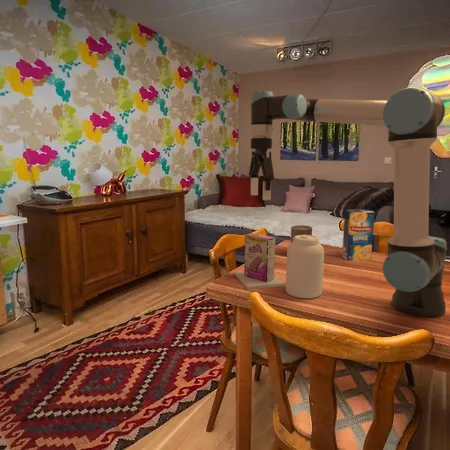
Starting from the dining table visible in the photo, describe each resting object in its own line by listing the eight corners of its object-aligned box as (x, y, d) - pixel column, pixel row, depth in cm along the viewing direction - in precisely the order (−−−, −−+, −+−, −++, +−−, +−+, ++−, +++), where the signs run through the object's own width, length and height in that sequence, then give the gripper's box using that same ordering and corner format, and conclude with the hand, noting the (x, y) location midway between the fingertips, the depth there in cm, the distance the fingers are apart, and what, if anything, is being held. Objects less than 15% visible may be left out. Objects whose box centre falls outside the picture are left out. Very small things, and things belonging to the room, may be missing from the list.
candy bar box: (243, 276, 143) (243, 234, 140) (251, 272, 146) (252, 232, 143) (266, 283, 135) (268, 239, 132) (274, 279, 139) (276, 237, 136)
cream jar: (283, 285, 136) (285, 232, 132) (317, 286, 135) (320, 232, 131) (287, 299, 123) (290, 241, 119) (325, 299, 123) (329, 241, 119)
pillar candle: (314, 254, 175) (315, 223, 172) (306, 259, 167) (308, 227, 164) (294, 252, 180) (295, 221, 178) (286, 256, 172) (287, 225, 169)
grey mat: (284, 286, 135) (284, 283, 135) (247, 289, 132) (247, 286, 132) (267, 271, 151) (267, 269, 151) (234, 274, 148) (234, 271, 148)
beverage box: (371, 260, 167) (375, 212, 162) (346, 260, 166) (350, 212, 162) (365, 256, 173) (368, 209, 169) (341, 256, 173) (344, 209, 169)
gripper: (285, 136, 120) (283, 201, 124) (259, 138, 144) (258, 193, 148) (263, 136, 118) (261, 202, 122) (241, 138, 142) (240, 193, 146)
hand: (260, 197), depth 135 cm, fingers open, 13 cm apart
